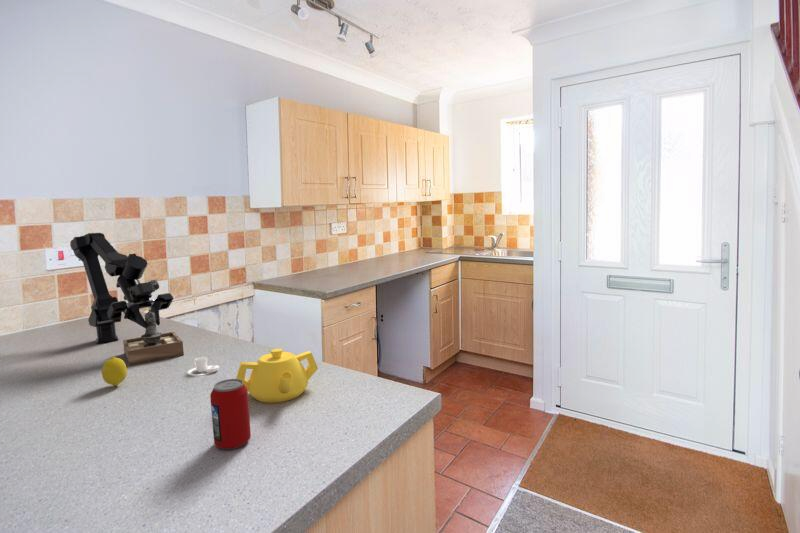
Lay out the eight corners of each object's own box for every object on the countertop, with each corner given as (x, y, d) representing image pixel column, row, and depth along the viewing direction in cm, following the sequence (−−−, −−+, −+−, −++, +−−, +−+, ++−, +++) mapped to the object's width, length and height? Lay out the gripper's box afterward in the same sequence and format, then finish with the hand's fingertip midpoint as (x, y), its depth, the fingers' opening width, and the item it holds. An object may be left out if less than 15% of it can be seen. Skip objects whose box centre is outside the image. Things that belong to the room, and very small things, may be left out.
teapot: (244, 420, 97) (240, 371, 96) (232, 391, 114) (229, 349, 112) (332, 400, 107) (330, 355, 105) (310, 376, 123) (308, 336, 121)
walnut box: (124, 353, 147) (123, 340, 146) (175, 344, 155) (173, 331, 155) (129, 365, 135) (127, 351, 134) (183, 355, 143) (182, 341, 143)
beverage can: (220, 435, 91) (216, 378, 89) (254, 433, 92) (250, 376, 90) (209, 453, 84) (204, 392, 83) (246, 450, 85) (241, 389, 83)
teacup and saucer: (223, 372, 129) (222, 358, 128) (195, 380, 123) (194, 365, 122) (210, 365, 134) (209, 352, 134) (182, 372, 129) (181, 359, 128)
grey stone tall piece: (161, 342, 149) (158, 306, 147) (164, 346, 144) (161, 309, 143) (140, 345, 145) (137, 309, 144) (143, 349, 141) (139, 312, 139)
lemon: (133, 383, 120) (130, 354, 120) (114, 391, 115) (110, 361, 114) (117, 381, 122) (114, 352, 121) (98, 389, 117) (95, 359, 116)
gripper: (107, 277, 136) (129, 317, 132) (168, 269, 152) (189, 304, 147) (98, 299, 142) (118, 339, 137) (157, 290, 157) (177, 325, 152)
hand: (152, 326), depth 143 cm, fingers closed on grey stone tall piece, 4 cm apart
